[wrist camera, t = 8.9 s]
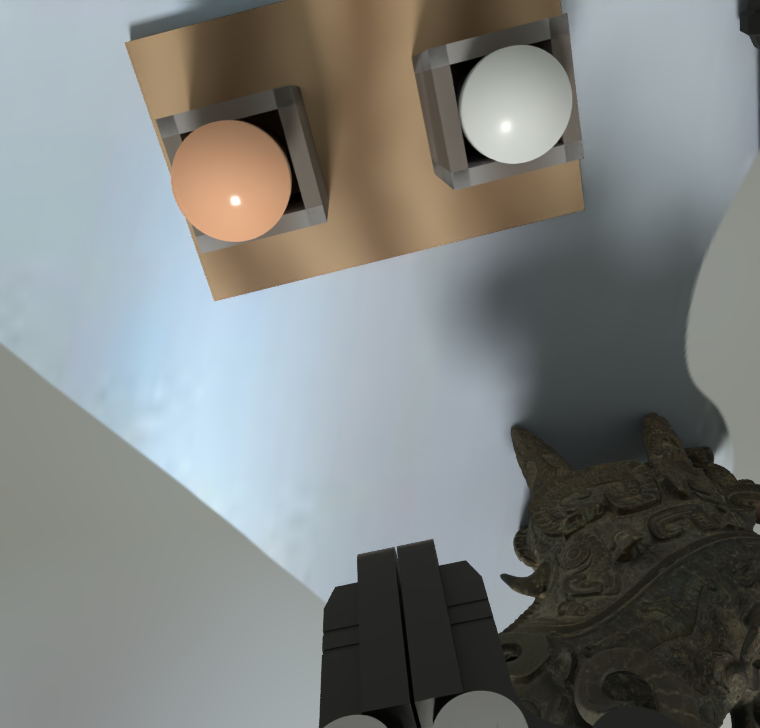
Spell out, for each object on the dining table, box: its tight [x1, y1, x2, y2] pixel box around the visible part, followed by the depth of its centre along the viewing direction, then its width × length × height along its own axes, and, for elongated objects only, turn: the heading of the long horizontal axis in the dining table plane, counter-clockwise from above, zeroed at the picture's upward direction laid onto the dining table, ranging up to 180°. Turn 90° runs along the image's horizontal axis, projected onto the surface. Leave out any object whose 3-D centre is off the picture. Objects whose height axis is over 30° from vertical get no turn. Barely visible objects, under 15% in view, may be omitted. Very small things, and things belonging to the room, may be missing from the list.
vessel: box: [498, 413, 760, 728], centre depth 35 cm, size 11×25×24 cm, turn 100°
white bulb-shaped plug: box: [453, 45, 572, 164], centre depth 31 cm, size 5×5×8 cm
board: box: [125, 0, 585, 301], centre depth 33 cm, size 22×14×8 cm, turn 103°
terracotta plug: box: [171, 120, 292, 242], centre depth 30 cm, size 5×5×8 cm
